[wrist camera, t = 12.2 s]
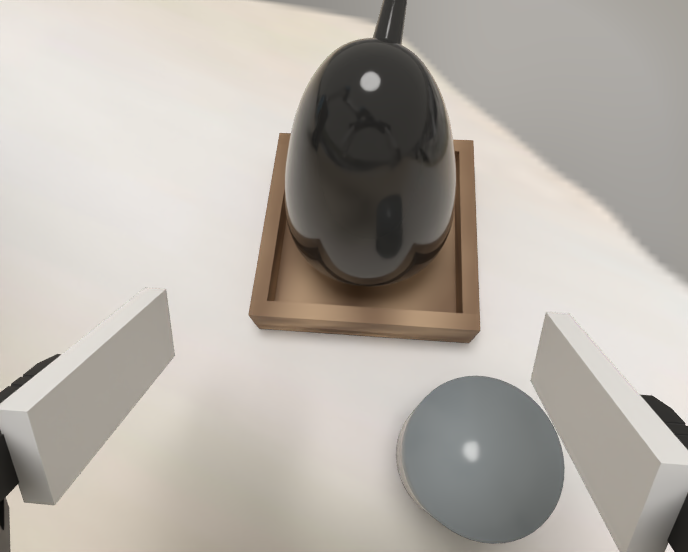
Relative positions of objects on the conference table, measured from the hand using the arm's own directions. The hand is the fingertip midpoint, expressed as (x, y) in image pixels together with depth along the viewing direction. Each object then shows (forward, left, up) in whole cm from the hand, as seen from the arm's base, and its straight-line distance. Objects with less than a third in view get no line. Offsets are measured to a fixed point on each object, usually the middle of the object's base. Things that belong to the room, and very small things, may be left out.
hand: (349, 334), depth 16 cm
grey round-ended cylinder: (+6, -3, -14) cm, 15 cm away
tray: (0, +11, -14) cm, 17 cm away
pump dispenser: (0, +10, -13) cm, 17 cm away
